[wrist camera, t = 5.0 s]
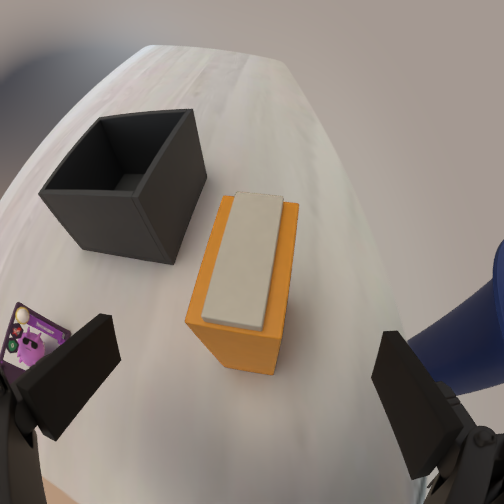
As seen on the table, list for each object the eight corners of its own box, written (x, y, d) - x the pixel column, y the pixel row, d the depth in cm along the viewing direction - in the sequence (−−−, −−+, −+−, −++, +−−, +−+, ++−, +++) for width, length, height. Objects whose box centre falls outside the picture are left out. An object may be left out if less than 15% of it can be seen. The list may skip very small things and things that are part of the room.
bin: (207, 176, 33) (193, 108, 25) (173, 265, 26) (138, 197, 18) (124, 174, 34) (98, 117, 26) (82, 249, 28) (37, 194, 20)
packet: (285, 296, 24) (300, 194, 14) (273, 375, 21) (282, 335, 10) (240, 289, 25) (221, 186, 14) (223, 366, 21) (179, 317, 11)
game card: (-5, 395, 13) (20, 301, 17) (-16, 377, 15) (7, 298, 19) (54, 415, 18) (74, 333, 22) (34, 398, 20) (53, 326, 24)
